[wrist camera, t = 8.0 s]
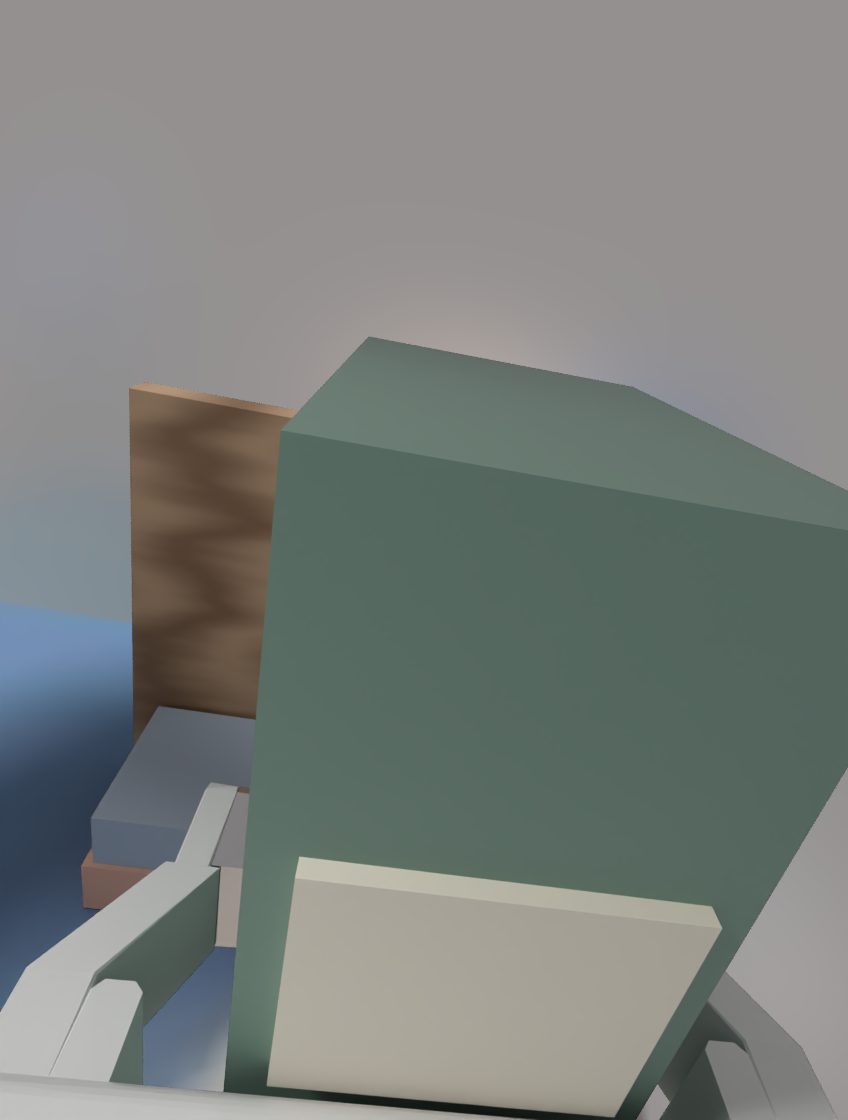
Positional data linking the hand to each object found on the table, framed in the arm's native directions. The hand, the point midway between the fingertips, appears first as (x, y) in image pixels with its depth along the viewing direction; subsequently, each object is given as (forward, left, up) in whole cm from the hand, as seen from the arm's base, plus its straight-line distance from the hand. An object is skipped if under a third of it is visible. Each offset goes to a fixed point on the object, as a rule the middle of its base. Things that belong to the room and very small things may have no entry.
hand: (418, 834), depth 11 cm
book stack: (-7, +13, -17) cm, 23 cm away
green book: (0, -1, -10) cm, 10 cm away
